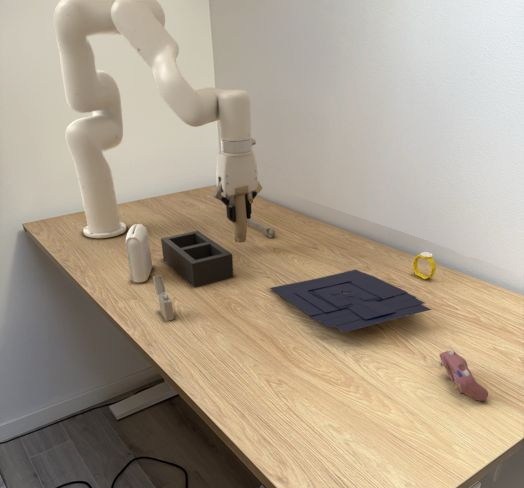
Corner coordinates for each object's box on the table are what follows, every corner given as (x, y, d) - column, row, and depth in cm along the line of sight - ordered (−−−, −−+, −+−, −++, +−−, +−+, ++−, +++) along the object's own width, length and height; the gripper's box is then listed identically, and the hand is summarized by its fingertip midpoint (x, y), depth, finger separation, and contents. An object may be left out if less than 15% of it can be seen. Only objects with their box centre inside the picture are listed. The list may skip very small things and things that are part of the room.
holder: (163, 259, 136) (160, 238, 133) (199, 251, 141) (197, 230, 137) (194, 287, 122) (192, 263, 119) (233, 276, 126) (232, 254, 123)
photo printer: (137, 266, 133) (129, 219, 126) (153, 266, 133) (147, 219, 126) (130, 283, 124) (121, 234, 117) (147, 283, 124) (140, 234, 117)
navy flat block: (335, 348, 96) (335, 330, 94) (269, 299, 121) (268, 284, 119) (438, 320, 104) (439, 303, 103) (356, 279, 129) (356, 265, 127)
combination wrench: (275, 227, 147) (238, 207, 160) (271, 227, 146) (235, 208, 160) (275, 239, 149) (238, 219, 162) (271, 240, 148) (235, 220, 162)
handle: (244, 235, 142) (242, 181, 134) (253, 243, 137) (251, 187, 129) (228, 238, 141) (225, 183, 133) (236, 246, 136) (233, 189, 128)
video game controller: (442, 376, 93) (431, 348, 89) (466, 365, 92) (456, 337, 88) (465, 411, 85) (453, 382, 81) (491, 400, 84) (481, 370, 80)
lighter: (174, 319, 109) (169, 285, 105) (166, 321, 108) (161, 286, 104) (164, 305, 114) (159, 272, 110) (156, 306, 114) (152, 273, 110)
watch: (408, 274, 126) (412, 251, 123) (416, 271, 127) (420, 248, 124) (427, 282, 122) (431, 259, 119) (435, 279, 123) (440, 256, 120)
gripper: (257, 139, 132) (259, 210, 142) (198, 148, 125) (204, 221, 135) (273, 144, 127) (273, 217, 137) (212, 153, 119) (217, 229, 129)
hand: (239, 218), depth 136 cm, fingers closed on handle, 3 cm apart
